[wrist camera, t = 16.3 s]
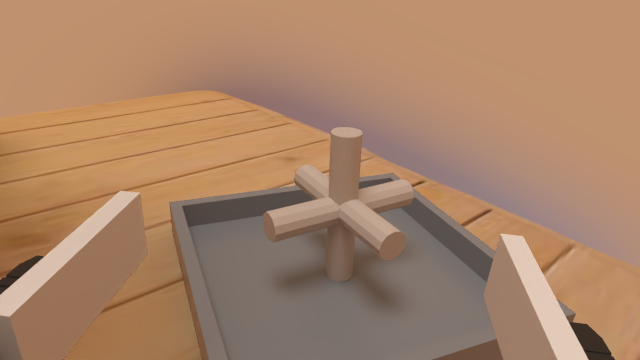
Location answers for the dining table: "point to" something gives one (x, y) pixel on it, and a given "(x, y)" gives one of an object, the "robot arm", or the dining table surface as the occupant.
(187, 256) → the tray
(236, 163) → the dining table surface
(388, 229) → the pipe connector
